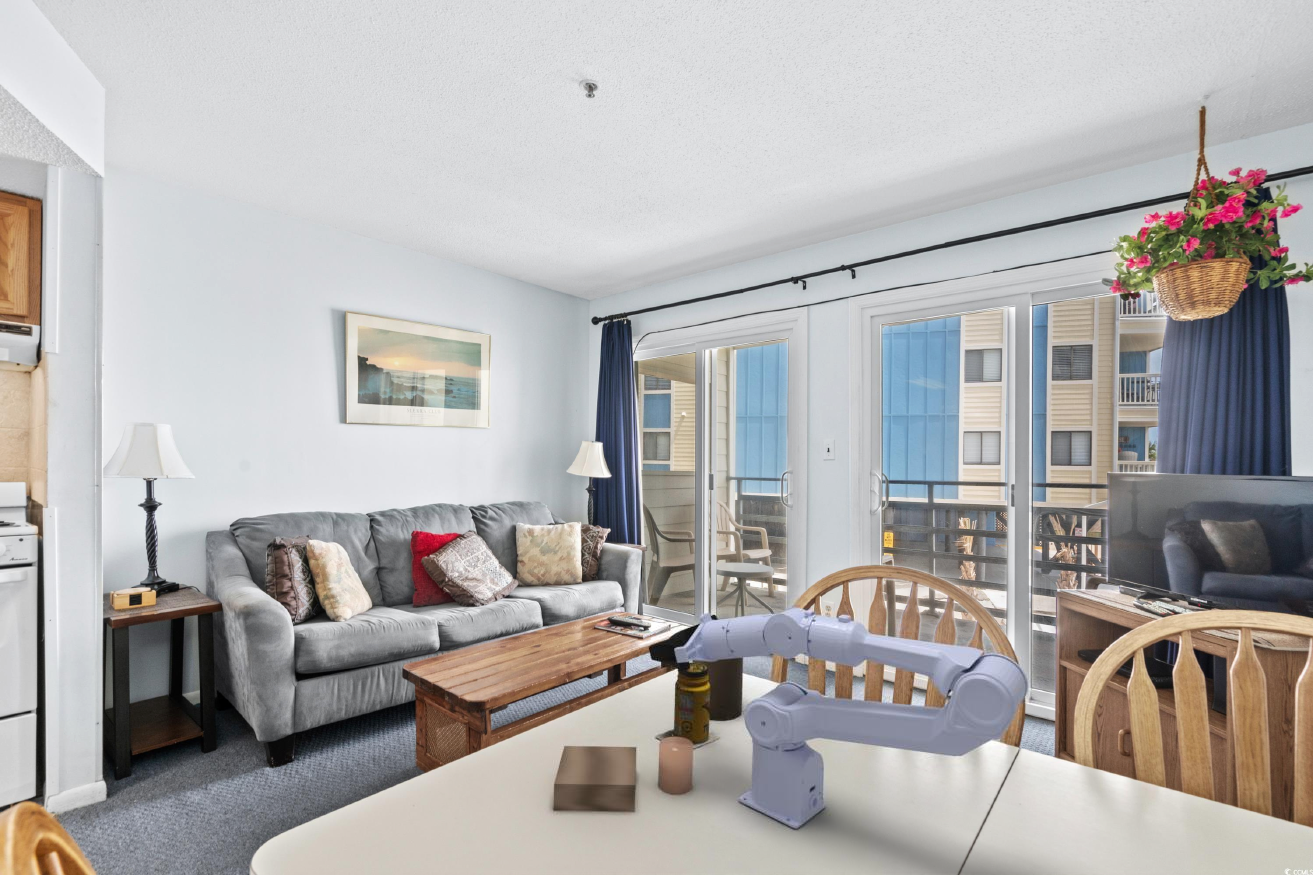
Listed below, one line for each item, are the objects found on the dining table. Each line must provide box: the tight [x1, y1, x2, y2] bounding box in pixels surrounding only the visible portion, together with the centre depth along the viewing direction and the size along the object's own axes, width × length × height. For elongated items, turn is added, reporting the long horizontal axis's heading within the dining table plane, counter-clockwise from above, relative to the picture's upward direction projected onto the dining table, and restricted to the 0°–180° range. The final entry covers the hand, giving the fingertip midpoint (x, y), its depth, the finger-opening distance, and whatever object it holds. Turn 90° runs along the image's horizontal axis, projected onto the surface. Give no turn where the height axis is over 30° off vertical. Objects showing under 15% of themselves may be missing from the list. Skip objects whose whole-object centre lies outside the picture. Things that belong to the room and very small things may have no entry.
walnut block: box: [552, 745, 637, 813], centre depth 93 cm, size 11×11×4 cm
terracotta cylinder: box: [657, 737, 694, 796], centre depth 94 cm, size 5×5×6 cm
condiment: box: [654, 662, 720, 750], centre depth 110 cm, size 7×8×12 cm
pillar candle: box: [691, 657, 744, 721], centre depth 122 cm, size 10×10×15 cm
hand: (665, 645), depth 103 cm, fingers open, 7 cm apart
